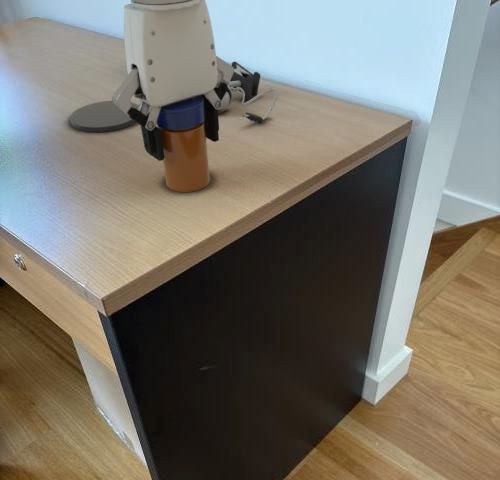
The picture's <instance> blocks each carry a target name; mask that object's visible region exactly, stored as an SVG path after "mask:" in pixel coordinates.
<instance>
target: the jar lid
mask: <svg viewBox="0 0 500 480" xmlns="http://www.w3.org/2000/svg"><path fill="white" fill-rule="evenodd" d="M204 120H205V108H204V98H203V97H202V96H201V95H200V96H196V97H193V98H190V99H186V100H183V101H179V102H176V103H172V104H169V105H165V106H162V107H161V110H160V113H159V116H158V119H157V122H156V126H157V125H158V126H159V127H162V128H165V129H186V128H191V127H194V126H197V125H199V124H201V123H202V122H203V121H204Z"/></svg>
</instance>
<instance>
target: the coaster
mask: <svg viewBox="0 0 500 480" xmlns="http://www.w3.org/2000/svg"><path fill="white" fill-rule="evenodd" d="M130 102H131V104H132V105H133V106H134V107H135V108H136V109H137V110H138V108H139V105H138V104H136V103H135V102H132V101H130ZM69 121H70V124H71V126H72V127H73V128H74V129H76V130H78V131H82V132H86V133H87V132H88V133H106V132H114V131H118V130H122V129H125V128H128V127H130V126H133V125H134V124H137V122H135V121H134V120H132V119H131V118H129V117H128V116H127V115H125V113H124V112H123V111H122V110H121V109H120V108H119V107H118V106H117V105H115V104H114V103H113V101H112V100H104V101H98V102H93V103H89V104H86V105H83V106H81V107H79V108H77V109H75V110H74V111H73V112H72V113H71V114H70V116H69Z"/></svg>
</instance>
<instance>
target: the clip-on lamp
mask: <svg viewBox="0 0 500 480" xmlns="http://www.w3.org/2000/svg"><path fill="white" fill-rule="evenodd" d="M230 65H231V66H232V67H233V68H234V73H233V76H232V78H231V80H230V83H229V84H228V90H227V92H226V94H225V95H224V97H223V99H222V101H221V102H222V105H221V108H220V109H218V114H219V113H222V112H224V111H225V110H227V109H228V108H229V107H230V105H231V103H232V100H233V93H235V92H240V93H242V97H243V98H242V101H241V107H242V108H245V107H247V106H248V105H250V104H251V103H253V102H254V101H256V100H258V99H259V98H261V97H262V96H264V95H266V94H267V93H270V92H274V98H273V101H272V103H271V105H270V107H269V109H268V110H267V112H266V114H264V116H263V117H262V116H260V115H258V114H254V113H250V112H245V114H243V115H242V117H243V118H246V119H248V120H249V121H251V122H252V121H253V122H254V123H256V122H257V123H260V124H261V123H262V122H263V121H264V120H265V119H267V118H268V116H269V115H270V113H271V112H272V110H273V109H274V106H275V104H276V101H277V97H278V90H277V89H276V88H273V87H272V88H268V89H266V90H264V91H262V92H260V93H258V92H259V88H260V87H259V86H260V81H261V73H260V72H258V71H254V72H253V73H252V72H250V71H249V70H248V69H246V68H245V67H243V65H241V64H240V63H239V62H237V61H232V63H231V64H230ZM245 101H246V102H245Z"/></svg>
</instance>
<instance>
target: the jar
mask: <svg viewBox="0 0 500 480" xmlns="http://www.w3.org/2000/svg"><path fill="white" fill-rule="evenodd" d="M156 127H157V128H159V129H160V131H161V137H162V143H163V150H164V156H165V158H164V160H162V165H163V172H164V178H165V184H166V186H167V188H169V189H170V190H172V191H175V192H179V193H191V192H196V191H199V190H203V189H204V188H206V187H207V186H208V185H209V184H210V182H211V177H210V176H211V175H210V166H209V155H208V145H207V144H208V143H207V138H206V133H205V122H204V121H203V122H202V123H201V124H199V125H197V126H194V127H191V128H186V129H165V128H162V127H159V126H158V125H156Z"/></svg>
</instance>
